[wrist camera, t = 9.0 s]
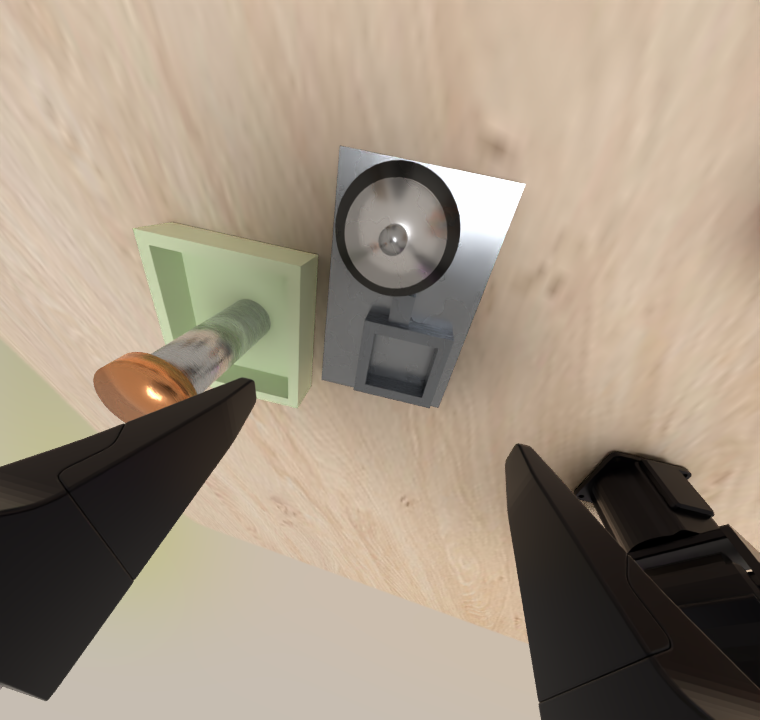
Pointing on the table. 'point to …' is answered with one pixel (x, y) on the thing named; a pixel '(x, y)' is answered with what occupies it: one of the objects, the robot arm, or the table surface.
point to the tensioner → (408, 271)
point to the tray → (228, 285)
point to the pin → (181, 363)
